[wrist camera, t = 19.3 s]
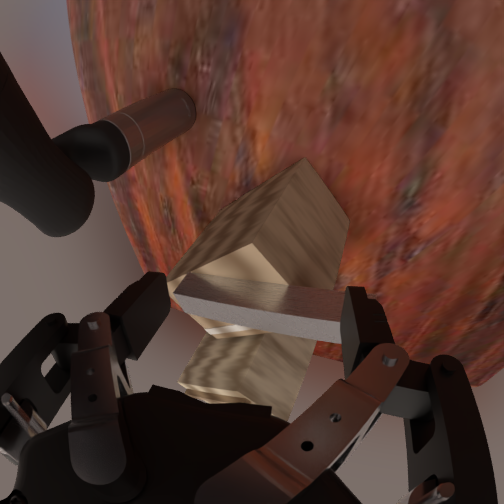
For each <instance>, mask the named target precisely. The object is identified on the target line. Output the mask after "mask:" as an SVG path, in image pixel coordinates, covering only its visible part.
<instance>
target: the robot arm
mask: <svg viewBox="0 0 504 504" xmlns="http://www.w3.org/2000/svg"><path fill="white" fill-rule="evenodd" d="M195 117H196V110H195V106H194V103H193V101H192V99H191V98H190V97H189V96H188V95H187V94H186V93H185V92H183V91H182V90H179V89H168V90H166V91H163V92H160V93H158V94H155V95H153V96H150V97H148V98H145V99H143V100H141V101H138V102H136V103H134V104H132V105H129V106H127V107H125V108H123V109H121V110H119V111H116V112H114V113H112V114H111V115H109V116H107V117H105V118H103V119H101V120H99V121H97V122H95V123H93V124H84V125H80V126H77V127H74V128H72V129H70V130H68V131H66V132H65V133H63V134H61V135H59V136H57V137H55V138H53V139H51V138H50V137H49V135H48V134H47V132H46V130H45V129H44V127H43V125H42V123H41V122H40V120H39V118H38V117H37V115H36V113H35V111H34V110H33V108H32V106H31V105H30V103H29V101H28V100H27V98H26V96H25V95H24V93H23V91H22V90H21V88H20V86H19V85H18V83H17V81H16V79H15V77H14V75H13V73H12V72H11V70H10V68H9V66H8V64H7V63H6V61H5V59H4V58H3V56H2V54H1V52H0V201H1V202H3V203H5V204H7V205H8V206H10V207H11V208H13V209H14V210H16V211H17V212H19V213H20V214H21V215H23V216H24V217H25V218H26V219H28V220H29V221H30V222H32V223H33V224H34V225H35V226H36V227H37V228H38V229H39V230H40V231H42V232H43V233H44V234H46V235H48V236H51V237H62V236H66V235H69V234H71V233H73V232H75V231H76V230H78V229H79V228H80V227H81V226H82V225H83V224H84V223H85V222H86V220H87V219H88V217H89V215H90V213H91V210H92V208H93V204H94V197H95V191H94V185H93V182H92V180H97V181H101V182H109V181H112V180H115V179H116V178H118V177H119V176H120V175H122V174H123V173H124V172H126V171H127V170H129V169H130V168H131V167H133V166H134V165H136V164H137V163H138V162H140V161H141V160H143V159H144V158H145V157H147V156H148V155H150V154H151V153H153V152H154V151H156V150H157V149H159V148H160V147H162V146H163V145H165V144H167V143H168V142H170V141H171V140H173V139H174V138H176V137H178V136H179V135H181V134H182V133H184V132H186V131H187V130H189V129H190V128H191V127H192V125H193V124H194V121H195ZM170 307H171V302H170V296H169V291H168V285H167V280H166V276H165V274H164V273H160V272H150V271H149V272H147V273H146V274H145V275H144V276H143V277H142V278H141V279H140V280H139V281H136V282H134V283H133V284H131V285H129V286H128V287H127V288H126V289H125V290H124V291H123V293H121V294H120V295H119V296H118V298H116V299H115V300H114V301H113V302H112V303H111V304H110V305H109V306H108V307H107V308H106V309H105V310H104V312H94V313H90V314H88V315H86V316H85V317H83V318H82V320H81V321H80V323H67V321H66V318H65V316H64V315H63V314H61V313H53V314H49V315H47V316H46V317H44V318H43V319H42V320H41V321H40V322H39V323H38V324H37V325H36V326H35V327H34V328H33V329H32V330H31V331H30V332H29V333H28V334H27V335H26V336H25V337H24V338H23V339H22V340H21V342H20V343H19V344H18V345H17V346H16V347H15V348H14V349H13V350H12V351H11V353H10V354H9V355H8V356H7V357H6V358H5V359H4V360H3V361H2V363H1V364H0V453H1V454H3V455H4V456H5V457H6V458H7V459H8V460H9V461H11V462H12V463H13V464H15V465H18V472H17V478H16V482H15V486H14V489H13V491H12V493H11V494H10V495H9V496H8V497H7V498H5V499H3V500H1V501H0V504H362V503H361V502H360V501H359V500H358V499H357V497H356V496H355V495H354V494H353V493H352V492H351V491H350V490H349V488H348V487H347V486H346V485H345V484H344V483H343V482H342V480H341V479H340V478H339V477H338V476H337V475H336V474H335V473H336V472H337V471H338V470H339V469H340V468H341V467H342V466H343V465H344V463H345V462H346V461H347V460H348V459H349V457H350V456H351V455H352V454H353V452H354V450H356V448H357V447H358V446H359V444H360V443H361V442H362V441H363V439H364V438H365V437H366V436H367V434H368V433H369V432H370V430H371V429H372V428H373V427H374V425H375V424H376V422H377V421H378V420H379V418H380V417H381V416H382V414H383V413H384V414H388V415H393V416H397V417H402V418H403V419H404V426H405V437H406V448H407V460H408V482H409V493H407V494H406V495H404V496H403V497H402V498H401V499H399V500H398V502H397V503H396V504H498V500H497V492H496V484H495V478H494V472H493V466H492V461H491V457H490V452H489V447H488V443H487V439H486V435H485V431H484V427H483V424H482V420H481V417H480V413H479V410H478V407H477V404H476V401H475V398H474V395H473V392H472V389H471V386H470V383H469V380H468V378H467V375H466V372H465V370H464V367H463V365H462V364H461V362H460V361H459V360H457V359H456V358H454V357H452V356H449V355H438V356H436V357H434V358H433V359H432V361H431V363H430V364H425V363H421V362H416V361H412V360H410V359H409V355H408V353H407V352H406V351H405V350H404V349H403V348H402V347H400V346H398V345H396V344H395V342H394V339H393V336H392V333H391V330H390V327H389V324H388V322H387V318H386V316H385V312H384V310H383V307H382V305H381V304H380V303H379V302H378V301H377V300H376V299H368V297H367V294H366V290H365V288H364V287H357V286H347V287H346V291H345V296H344V302H343V307H342V313H341V319H340V335H341V343H342V353H343V363H344V374H345V380H343V379H339V380H337V381H336V382H335V383H334V384H333V385H332V386H331V387H330V388H329V389H328V390H327V391H326V392H325V393H324V394H323V395H322V396H321V397H320V398H319V399H317V400H316V401H315V402H314V403H313V404H312V405H311V406H310V407H309V408H308V409H307V410H306V411H305V412H303V414H301V415H300V416H299V417H298V418H297V419H296V420H294V421H293V422H292V423H289V422H287V421H285V420H283V419H281V418H279V417H276V416H273V415H272V406H266V405H257V404H249V403H241V402H238V403H212V404H209V403H204V402H202V401H199V400H197V399H195V398H193V397H191V396H188V395H186V394H184V393H182V392H180V391H176V390H172V389H168V388H164V387H160V386H156V385H152V387H151V389H150V390H149V392H143V393H133V389H132V385H131V380H130V376H129V371H128V366H127V363H126V361H125V360H126V358H129V359H132V360H138V358H139V357H140V355H141V354H142V352H143V351H144V349H145V348H146V346H147V345H148V343H149V342H150V340H151V339H152V337H153V336H154V335H155V333H156V332H157V330H158V329H159V327H160V326H161V324H162V323H163V321H164V320H165V318H166V317H167V316H168V314H169V312H170ZM50 353H51V354H52V355H53V357H54V359H55V361H56V363H55V364H54V366H53V367H52V368H51V370H50V371H49V372H48V373H47V375H46V376H45V377H43V375H42V373H41V365H42V363H43V362H44V360H45V359H46V358H47V357H48V356H49V354H50ZM70 392H71V415H72V420H70V421H68V422H66V423H63V424H61V425H59V426H56V427H54V428H51V429H49V430H47V428H48V426H49V425H50V423H51V421H52V420H53V418H54V417H55V415H56V414H57V412H58V411H59V409H60V407H61V406H62V404H63V403H64V401H65V400H66V398H67V397H68V395H69V394H70Z"/></svg>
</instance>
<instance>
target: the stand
mask: <svg viewBox="0 0 504 504" xmlns="http://www.w3.org/2000/svg"><path fill="white" fill-rule="evenodd" d="M349 223H350V220H349V219H348V217H347V216H346V214H345V213H344V211H343V210H342V208H341V207H340V205H339V204H338V202H337V201H336V199H335V198H334V196H333V195H332V194H331V192H330V191H329V189H328V188H327V186H326V185H325V184H324V182H323V181H322V179H321V178H320V177H319V175H318V174H317V172H316V171H315V170H314V168H313V167H312V166H311V164H310V163H309V162H308V160H307V159H306V158H303V159H301V160H300V161H298V162H296V163H295V164H293V165H291V166H290V167H288V168H286V169H285V170H283V171H282V172H280V173H278V174H277V175H275V176H273V177H272V178H270V179H269V180H267V181H265V182H264V183H262V184H261V185H259V186H257V187H256V188H254V189H253V190H251V191H249V192H248V193H246V194H245V195H243V196H242V197H240V198H238V199H237V200H235V201H234V202H232V203H231V204H229V205H228V206H226V207H225V208H223V209H222V210H221V211H220V212H219V213H218V214H217V215H216V217H215V218H214V219H213V220H212V221H211V223H210V224H209V225H208V226H207V227H206V229H205V230H204V231H203V232H202V233H201V235H200V236H199V237H198V238H197V240H196V241H195V242H194V243H193V244H192V246H191V247H190V248H189V249H188V251H187V252H186V253H185V254H184V256H183V257H182V258H181V259H180V261H179V262H178V263H177V264H176V266H175V267H174V268H173V269H172V271H171V272H170V273H169V275H168V276H167V277H166V280H167V285H168V291H169V296H170V297H171V298H172V299H173V300H174V301H175V302H176V303H177V304H178V305H179V306H180V307H181V305H180V304H179V302H178V301H177V299H176V298H175V296H174V294H173V292H174V291H175V290H176V288H177V287H178V285H179V284H180V283H181V281H182V280H183V279H184V277H185V276H186V275H187V273H188V272H193V273H200V274H207V275H214V276H222V277H229V278H237V279H244V280H252V281H260V282H268V283H276V284H284V285H293V286H301V287H310V288H319V289H328V290H333V289H334V285H335V281H336V277H337V274H338V270H339V266H340V262H341V258H342V254H343V249H344V245H345V241H346V237H347V232H348V228H349ZM181 308H182V307H181ZM189 315H190V316H191V317H192V318H194V319H195V320H196V321H197V322H198V323H199V324H200V325H201V326H203V327H204V328H205V330H206V331H207V332H206V334H205V336H204V338H203V339H202V341H201V343H200V344H199V346H198V348H197V349H196V351H195V353H194V354H193V356H192V358H191V359H190V361H189V363H188V365H187V366H186V368H185V370H184V371H183V373H182V375H181V376H180V378H179V380H178V381H177V382H178V383H179V384H181V385H182V386H183V387H185V388H186V389H187V390H186V392H185V393H184V394H186V395H188V396H191V397H193V398H196V399H201V400H204V401H206V402H207V403H209V404H212V403H238V402H241V403H249V404H257V405H266V406H272V415H273V416H276V417H279V418H281V419H283V420H285V421H288V419H289V416H290V413H291V411H292V409H293V406H294V403H295V401H296V398H297V396H298V393H299V390H300V387H301V385H302V382H303V379H304V377H305V374H306V371H307V368H308V365H309V362H310V359H311V357H312V354H313V351H314V348H315V345H316V342H317V340H313V339H307V338H301V337H296V336H290V335H284V334H279V333H274V332H268V331H263V330H258V329H253V328H249V327H244V326H239V325H235V324H230V323H226V322H221V321H217V320H213V319H208V318H204V317H200V316H196V315H192V314H189Z"/></svg>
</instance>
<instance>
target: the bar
mask: <svg viewBox="0 0 504 504" xmlns="http://www.w3.org/2000/svg"><path fill="white" fill-rule="evenodd" d="M173 294H174V296H175V298H176V299H177V301H178V302H179V304H180V305H181V307H182V309H183V310H184V312H185V313H188V314H192V315H196V316H200V317H204V318H208V319H213V320H217V321H221V322H226V323H230V324H235V325H239V326H244V327H249V328H253V329H258V330H263V331H268V332H274V333H279V334H284V335H290V336H296V337H301V338H307V339H313V340H320V341H326V342H333V343H340V344H342V343H341V335H340V319H341V313H342V307H343V302H344V296H345V291H338V290H328V289H319V288H310V287H301V286H293V285H284V284H276V283H268V282H260V281H252V280H244V279H237V278H229V277H222V276H214V275H207V274H200V273H193V272H188V273H187V275H186V276H185V277H184V279H183V280H182V281H181V283H180V284H179V285H178V287H177V288H176V290H175V291H174V292H173ZM366 294H367V293H366ZM376 295H377V294H367V297H368V299H376Z"/></svg>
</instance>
